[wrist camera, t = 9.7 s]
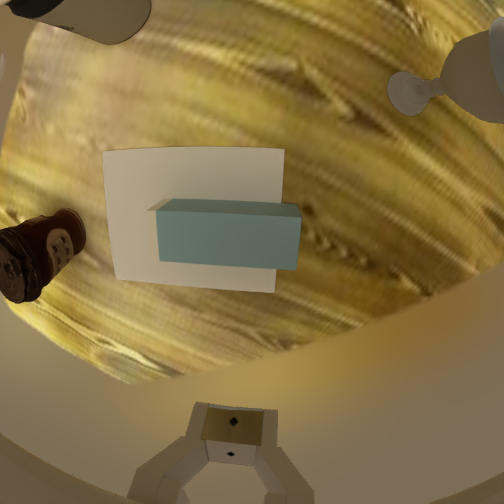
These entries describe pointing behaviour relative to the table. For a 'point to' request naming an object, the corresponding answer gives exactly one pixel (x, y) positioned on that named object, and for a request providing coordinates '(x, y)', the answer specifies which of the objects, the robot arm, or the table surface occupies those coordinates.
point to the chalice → (460, 78)
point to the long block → (225, 233)
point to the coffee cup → (37, 253)
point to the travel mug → (87, 16)
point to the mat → (185, 187)
